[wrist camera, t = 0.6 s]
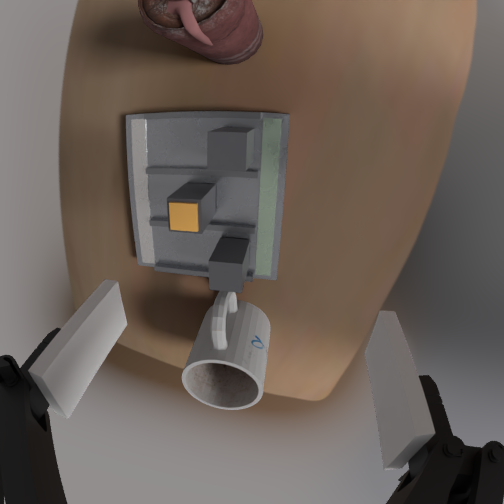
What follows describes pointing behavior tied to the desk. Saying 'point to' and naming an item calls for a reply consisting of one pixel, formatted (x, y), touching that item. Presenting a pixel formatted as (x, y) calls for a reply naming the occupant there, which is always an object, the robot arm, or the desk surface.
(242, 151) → the block
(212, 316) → the mug
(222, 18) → the can
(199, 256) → the panel
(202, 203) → the block
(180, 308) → the desk surface
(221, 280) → the breaker
